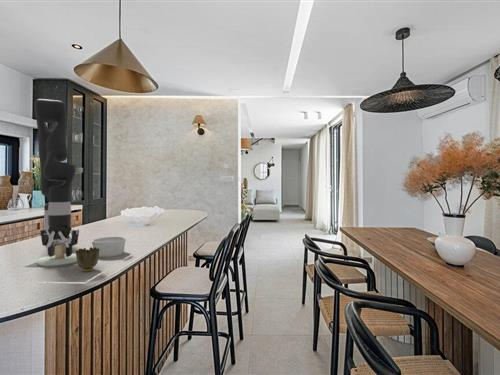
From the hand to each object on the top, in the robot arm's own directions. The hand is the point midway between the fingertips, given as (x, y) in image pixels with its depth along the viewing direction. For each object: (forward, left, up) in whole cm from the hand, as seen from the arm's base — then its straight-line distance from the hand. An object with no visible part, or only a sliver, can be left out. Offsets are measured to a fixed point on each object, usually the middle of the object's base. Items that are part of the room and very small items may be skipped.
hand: (60, 256), depth 118 cm
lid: (0, 0, -2) cm, 2 cm away
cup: (+11, +17, -3) cm, 20 cm away
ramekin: (-13, +13, -3) cm, 19 cm away
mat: (0, 0, -3) cm, 3 cm away
